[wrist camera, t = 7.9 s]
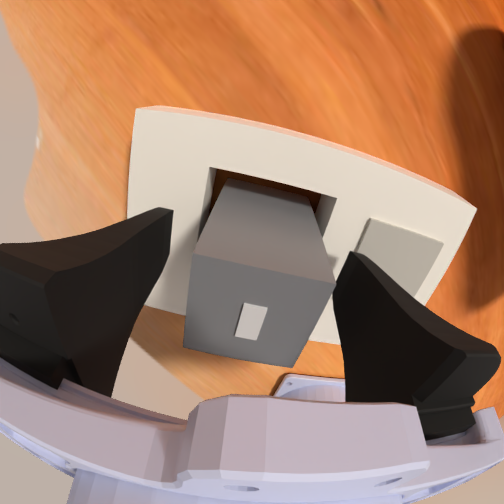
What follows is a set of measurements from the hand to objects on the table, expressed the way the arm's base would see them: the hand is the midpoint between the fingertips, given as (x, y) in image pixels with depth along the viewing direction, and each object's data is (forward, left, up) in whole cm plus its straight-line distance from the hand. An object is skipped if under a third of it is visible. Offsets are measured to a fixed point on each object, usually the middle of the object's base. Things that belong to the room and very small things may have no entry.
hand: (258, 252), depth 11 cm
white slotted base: (0, -2, -4) cm, 4 cm away
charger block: (0, 0, -4) cm, 4 cm away
